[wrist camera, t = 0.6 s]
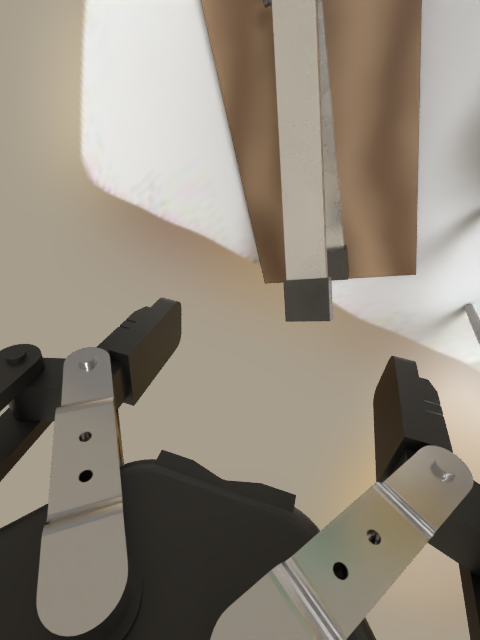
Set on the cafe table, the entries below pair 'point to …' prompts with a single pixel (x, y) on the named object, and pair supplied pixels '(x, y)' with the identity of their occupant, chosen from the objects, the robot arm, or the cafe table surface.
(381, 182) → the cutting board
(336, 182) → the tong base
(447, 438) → the robot arm
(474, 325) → the juicer
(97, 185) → the cafe table surface
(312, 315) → the tong arm
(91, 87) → the cafe table surface
